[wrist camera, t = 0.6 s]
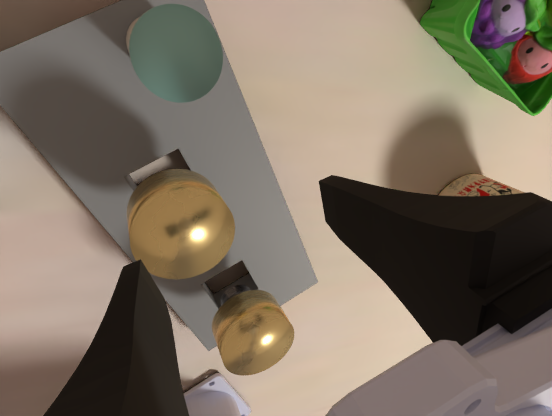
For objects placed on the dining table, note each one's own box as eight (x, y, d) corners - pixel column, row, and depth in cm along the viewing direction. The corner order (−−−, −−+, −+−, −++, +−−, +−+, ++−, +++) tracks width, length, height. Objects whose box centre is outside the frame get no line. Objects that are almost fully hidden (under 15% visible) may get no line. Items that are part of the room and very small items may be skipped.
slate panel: (202, 332, 28) (208, 351, 26) (-19, 61, 15) (-34, 66, 14) (306, 267, 29) (318, 282, 28) (183, -25, 17) (192, -30, 15)
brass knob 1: (153, 244, 19) (164, 295, 16) (105, 181, 17) (106, 225, 13) (223, 205, 20) (249, 246, 16) (187, 140, 17) (209, 170, 14)
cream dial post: (142, 86, 17) (161, 117, 11) (107, 24, 15) (109, 27, 10) (194, 61, 17) (236, 80, 12) (166, -1, 15) (198, -13, 10)
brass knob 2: (221, 333, 24) (241, 386, 21) (192, 295, 22) (209, 348, 18) (274, 299, 25) (302, 345, 21) (252, 259, 22) (280, 304, 19)
